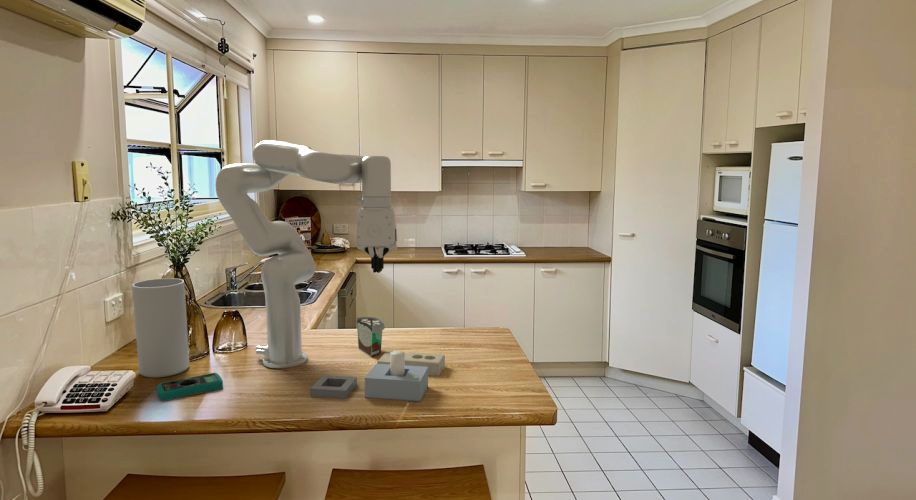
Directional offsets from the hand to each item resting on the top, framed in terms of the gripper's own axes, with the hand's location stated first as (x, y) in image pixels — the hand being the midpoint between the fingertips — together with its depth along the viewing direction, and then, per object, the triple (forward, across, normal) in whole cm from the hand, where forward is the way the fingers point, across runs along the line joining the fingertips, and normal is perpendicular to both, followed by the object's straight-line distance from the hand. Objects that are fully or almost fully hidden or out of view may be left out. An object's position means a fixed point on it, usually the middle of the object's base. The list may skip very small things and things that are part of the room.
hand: (377, 271), depth 148 cm
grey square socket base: (+29, -8, -13) cm, 33 cm away
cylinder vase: (+29, -60, -6) cm, 67 cm away
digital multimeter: (+30, -45, -18) cm, 56 cm away
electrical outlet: (+30, +8, +6) cm, 31 cm away
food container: (+29, -7, +19) cm, 36 cm away
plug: (+29, +8, -11) cm, 32 cm away
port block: (+29, +8, -11) cm, 32 cm away
